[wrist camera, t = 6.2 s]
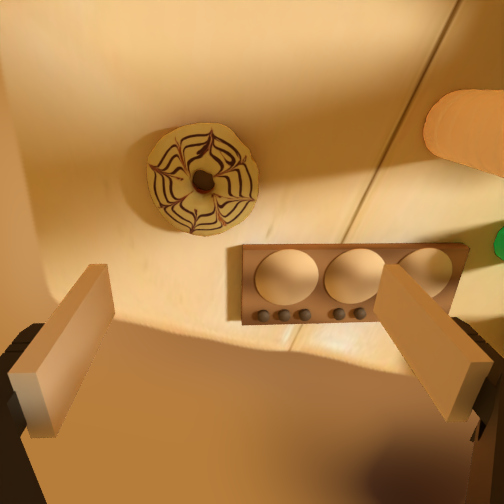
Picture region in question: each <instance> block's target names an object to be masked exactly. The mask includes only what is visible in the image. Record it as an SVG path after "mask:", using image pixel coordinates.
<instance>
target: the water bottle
mask: <svg viewBox="0 0 504 504" xmlns="http://www.w3.org/2000/svg"><path fill="white" fill-rule="evenodd" d="M423 137H424V140H425V144H426V146H427V148H428V149H429V151H430V152H431V153H433V154H434V155H436V156H438V157H440V158H443V159H446V160H450V161H454V162H456V163H459V164H463V165H467V166H469V167H472V168H475V169H479V170H481V171H484V172H487V173H491V174H495V175H497V176H500V177H503V178H504V90H489V89H487V90H478V89H471V90H467V89H465V90H458V91H454V92H451V93H449V94H447V95H445V96H444V97H442V98H441V99H440V100H439V101H438V102H437V103H436V104H435V105H434V106H433V107H432V108H431V110H430V111H429V113H428V115H427V117H426V122H425V124H424V128H423Z"/></svg>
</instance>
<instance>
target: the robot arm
mask: <svg viewBox="0 0 504 504" xmlns="http://www.w3.org/2000/svg"><path fill="white" fill-rule="evenodd" d="M373 312H374V313H375V315H376V316H377V318H378V319H379V321H380V322H381V324H382V325H383V327H384V328H385V330H386V331H387V333H388V334H389V336H390V337H391V339H392V340H393V342H394V343H395V345H396V346H397V348H398V349H399V351H400V353H401V354H402V356H403V357H404V359H405V360H406V362H407V363H408V365H409V366H410V368H411V369H412V371H413V372H414V374H415V375H416V377H417V378H418V380H419V381H420V382H421V384H422V386H423V387H424V389H425V390H426V392H427V393H428V395H429V397H430V398H431V400H432V401H433V403H434V404H435V405H436V407H437V409H438V410H439V412H440V413H441V415H442V416H443V418H444V419H445V421H446V422H466V421H467V420H468V418H469V416H470V414H471V412H472V409H473V410H474V411H475V412H476V414H477V415H478V416H479V417H480V420H479V422H478V424H477V426H476V428H475V431H474V433H473V435H472V437H471V439H470V441H472V442H474V447H473V453H472V460H471V466H470V473H469V479H468V485H467V492H466V499H465V504H504V359H503V358H502V357H501V356H500V355H499V354H498V353H497V352H496V351H495V350H494V349H493V348H492V347H491V346H490V345H489V344H488V343H486V342H485V340H484V339H483V338H482V337H481V336H480V335H479V336H478V333H477V332H476V331H475V330H474V329H473V328H472V327H471V326H470V325H468V324H467V323H465V322H463V321H462V320H460V319H458V318H457V317H450V316H449V315H448V314H447V313H446V312H445V311H444V310H443V309H442V308H441V307H440V306H439V305H438V304H437V303H436V302H435V301H434V300H433V299H432V298H431V297H430V296H429V295H428V294H427V293H426V292H425V291H424V290H423V289H422V288H421V286H420V285H419V284H418V283H417V282H416V281H415V280H414V279H413V278H412V277H411V276H410V275H409V274H408V273H407V272H406V271H405V270H404V269H403V268H402V267H401V266H400V265H399V264H384V266H383V270H382V274H381V279H380V283H379V287H378V292H377V296H376V300H375V305H374V309H373ZM114 315H115V309H114V303H113V297H112V291H111V285H110V279H109V273H108V266H107V264H90V265H89V266H88V267H87V269H86V270H85V271H84V273H83V274H82V275H81V277H80V278H79V279H78V281H77V282H76V283H75V285H74V286H73V287H72V289H71V290H70V291H69V292H68V294H67V295H66V296H65V298H64V299H63V300H62V302H61V303H60V304H59V306H58V307H57V309H56V310H55V311H54V312H53V314H52V315H51V316H50V318H49V319H48V320H47V322H46V323H39V324H38V323H36V324H32V325H30V326H29V327H27V328H26V329H24V330H23V331H22V332H20V333H19V335H18V336H17V337H16V338H15V339H14V341H13V342H12V344H11V345H9V347H8V348H7V349H6V350H5V353H3V354H2V355H1V356H0V504H47V503H46V500H45V498H44V496H43V493H42V490H41V488H40V486H39V483H38V481H37V478H36V476H35V473H34V471H33V468H32V466H31V463H30V461H29V458H28V456H27V454H26V451H25V448H24V446H23V444H22V441H21V439H20V436H21V434H22V432H23V431H24V429H25V428H26V426H27V429H28V431H29V435H30V437H31V438H52V437H56V436H57V434H58V432H59V430H60V428H61V426H62V423H63V422H64V419H65V417H66V415H67V413H68V411H69V409H70V407H71V405H72V403H73V401H74V399H75V396H76V394H77V392H78V390H79V388H80V386H81V384H82V382H83V380H84V378H85V376H86V374H87V372H88V369H89V367H90V365H91V363H92V361H93V359H94V357H95V355H96V353H97V351H98V348H99V346H100V344H101V342H102V340H103V338H104V336H105V334H106V332H107V330H108V328H109V326H110V324H111V321H112V319H113V317H114Z"/></svg>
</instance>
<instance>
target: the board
mask: <svg viewBox="0 0 504 504" xmlns="http://www.w3.org/2000/svg"><path fill="white" fill-rule="evenodd" d="M469 250H470V248H469V247H467V246H466V245H464V244H463V243H391V244H252V245H243V255H242V306H241V320H242V325H273V324H310V323H346V322H380V321H379V319H378V318H377V316H376V315H375V313H374V312H373V309H374V305H375V300H376V296H377V292H378V287H379V283H380V279H381V274H382V270H383V266H384V264H399V265H400V266H401V267H402V268H403V269H404V270H405V271H406V272H407V273H408V274H409V275H410V276H411V277H412V278H413V279H414V280H415V281H416V282H417V283H418V284H419V285H420V286H421V288H422V289H423V290H424V291H425V292H426V293H427V294H428V295H429V296H430V297H431V298H432V299H433V300H434V301H435V302H436V303H437V304H438V305H439V306H440V307H441V308H442V309H443V310H444V311H445V312H446V313H447V314H448V313H449V310H450V307H451V304H452V301H453V298H454V295H455V292H456V289H457V286H458V283H459V280H460V277H461V274H462V271H463V268H464V265H465V262H466V259H467V256H468V253H469Z"/></svg>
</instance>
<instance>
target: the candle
mask: <svg viewBox="0 0 504 504" xmlns="http://www.w3.org/2000/svg"><path fill="white" fill-rule="evenodd" d="M494 250H495V254H496V255H497V256H498V257H500V258H501V259H502V260H503V261H504V227H503V228H502V229H501V230H500V231H499V232H498V234H497V237H496V239H495V241H494Z"/></svg>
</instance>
